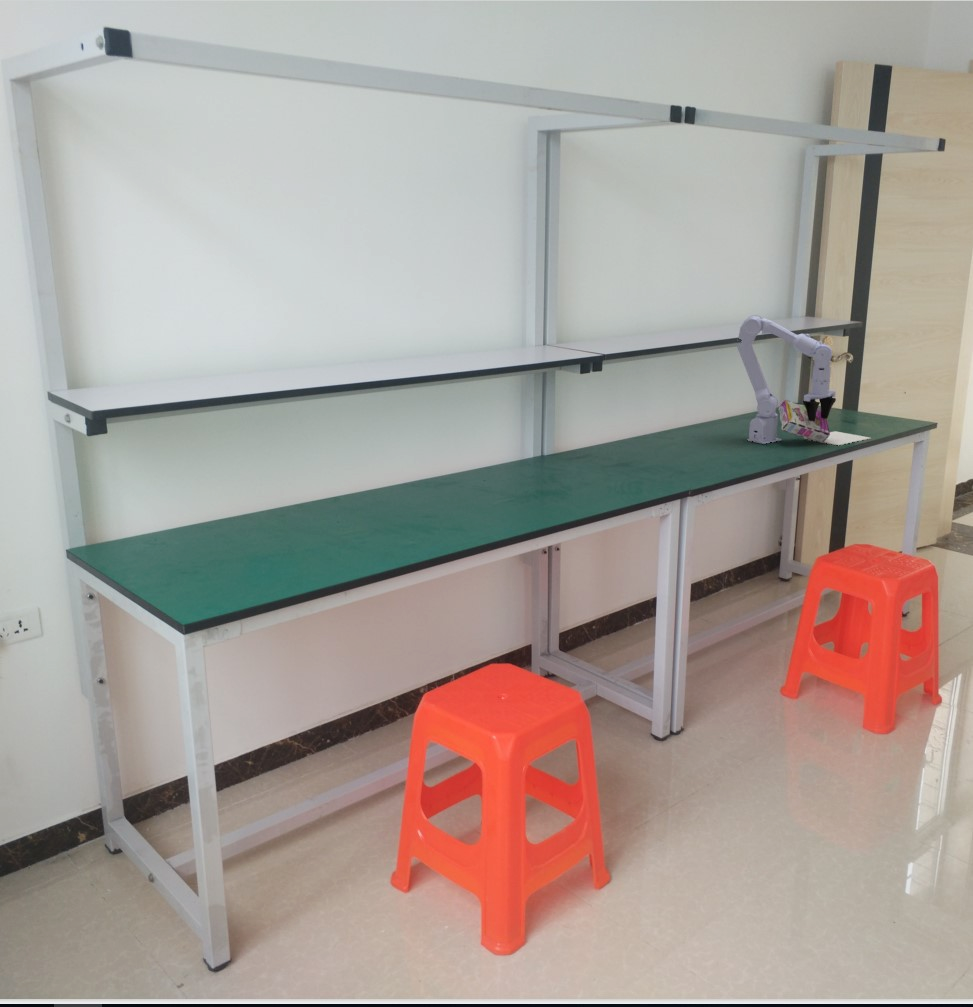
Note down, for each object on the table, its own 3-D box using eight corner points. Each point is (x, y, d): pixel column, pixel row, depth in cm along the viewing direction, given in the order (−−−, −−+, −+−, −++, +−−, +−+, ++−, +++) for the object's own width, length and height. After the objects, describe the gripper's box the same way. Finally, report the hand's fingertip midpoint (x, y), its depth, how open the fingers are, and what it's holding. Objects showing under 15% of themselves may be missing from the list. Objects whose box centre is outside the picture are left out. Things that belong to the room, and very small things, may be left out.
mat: (838, 445, 333) (838, 444, 332) (802, 439, 345) (803, 437, 344) (871, 438, 342) (871, 437, 342) (835, 432, 354) (835, 431, 354)
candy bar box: (831, 434, 334) (789, 421, 330) (822, 443, 337) (781, 431, 334) (825, 411, 341) (784, 398, 337) (817, 420, 344) (776, 408, 341)
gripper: (817, 383, 324) (814, 423, 328) (844, 379, 332) (841, 418, 336) (799, 381, 330) (797, 420, 334) (826, 377, 338) (823, 415, 342)
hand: (818, 419), depth 335 cm, fingers open, 6 cm apart
